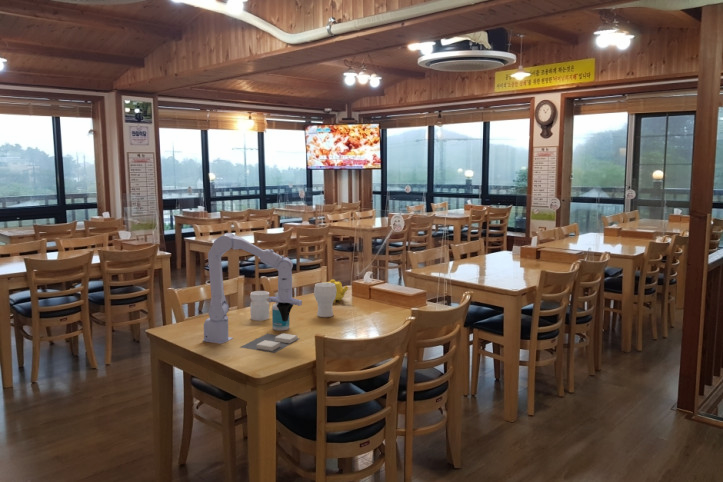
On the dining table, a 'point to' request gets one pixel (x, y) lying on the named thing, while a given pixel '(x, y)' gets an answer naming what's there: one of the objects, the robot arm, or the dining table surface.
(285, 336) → the tile
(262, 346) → the tile
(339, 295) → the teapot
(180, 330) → the dining table surface
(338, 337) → the dining table surface
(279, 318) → the pill bottle
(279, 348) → the mat
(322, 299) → the cup
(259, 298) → the vase
